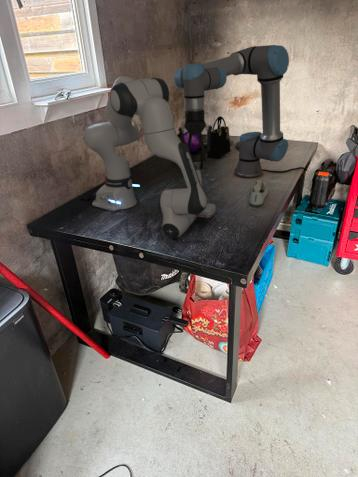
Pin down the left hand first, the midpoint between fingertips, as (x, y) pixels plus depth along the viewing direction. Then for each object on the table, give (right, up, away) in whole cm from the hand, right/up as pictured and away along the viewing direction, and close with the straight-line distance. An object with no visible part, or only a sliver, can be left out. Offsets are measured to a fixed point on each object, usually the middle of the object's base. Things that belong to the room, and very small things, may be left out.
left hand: (197, 200), depth 146 cm
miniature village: (+48, +50, +94) cm, 117 cm away
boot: (-4, +32, +68) cm, 75 cm away
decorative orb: (0, +44, +88) cm, 98 cm away
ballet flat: (+30, +3, +14) cm, 34 cm away
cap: (-1, +14, -9) cm, 17 cm away
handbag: (+19, +41, +81) cm, 92 cm away
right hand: (-1, +13, -8) cm, 15 cm away
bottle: (0, -6, +2) cm, 6 cm away
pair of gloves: (+15, +55, +106) cm, 121 cm away
